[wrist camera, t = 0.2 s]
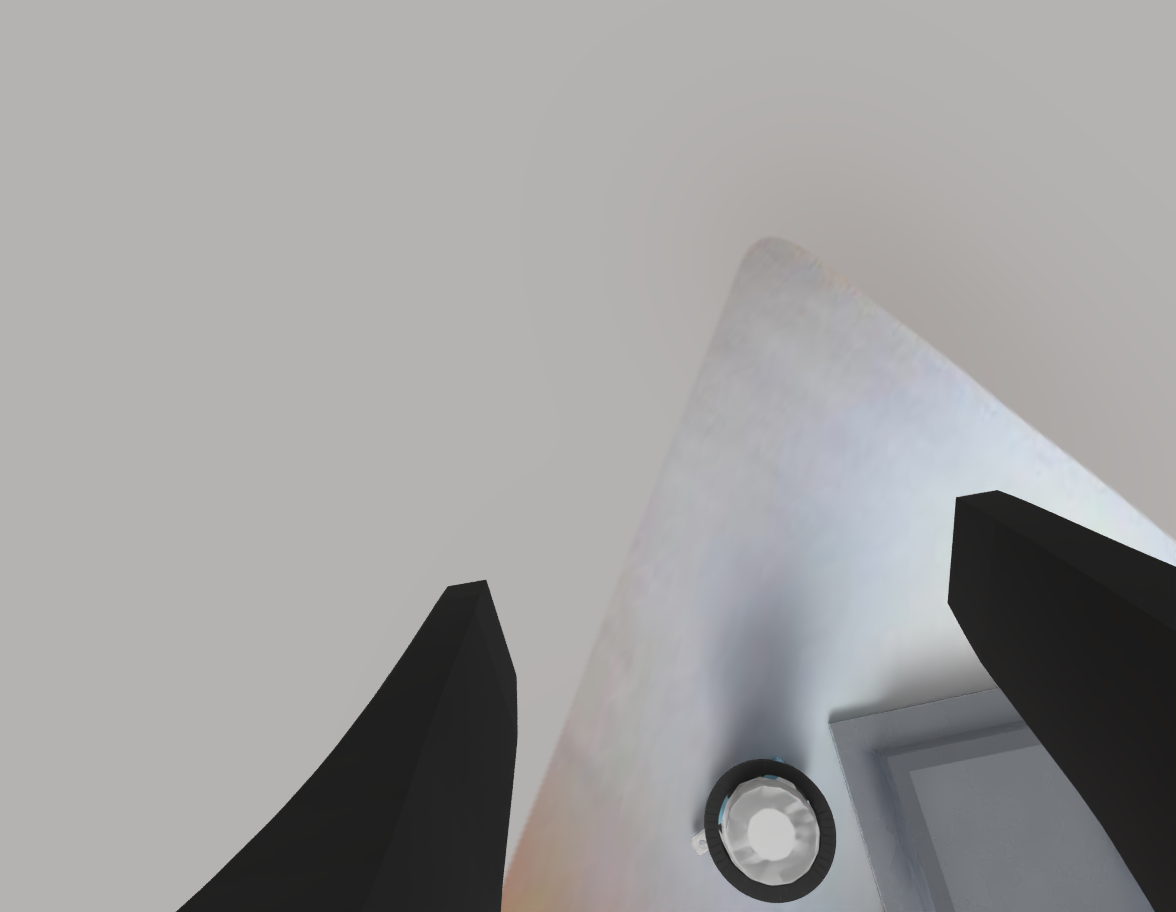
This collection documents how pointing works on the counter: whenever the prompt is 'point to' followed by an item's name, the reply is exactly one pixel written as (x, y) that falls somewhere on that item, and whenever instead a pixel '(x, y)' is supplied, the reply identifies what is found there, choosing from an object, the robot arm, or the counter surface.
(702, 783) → the counter surface
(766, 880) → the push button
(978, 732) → the grey metal tray
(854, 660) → the counter surface
